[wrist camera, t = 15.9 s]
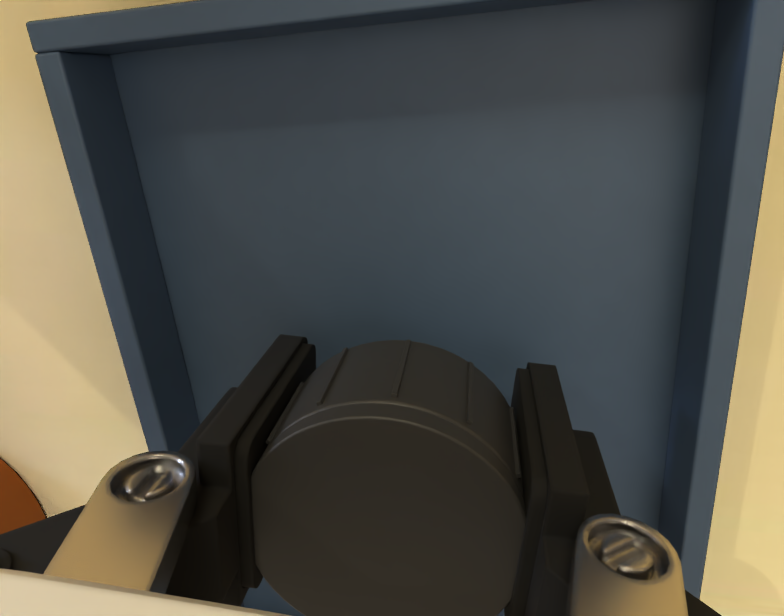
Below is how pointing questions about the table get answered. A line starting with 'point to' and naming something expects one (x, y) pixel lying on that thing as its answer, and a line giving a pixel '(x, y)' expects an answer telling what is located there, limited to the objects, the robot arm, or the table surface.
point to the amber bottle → (16, 501)
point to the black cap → (391, 488)
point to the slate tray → (433, 204)
